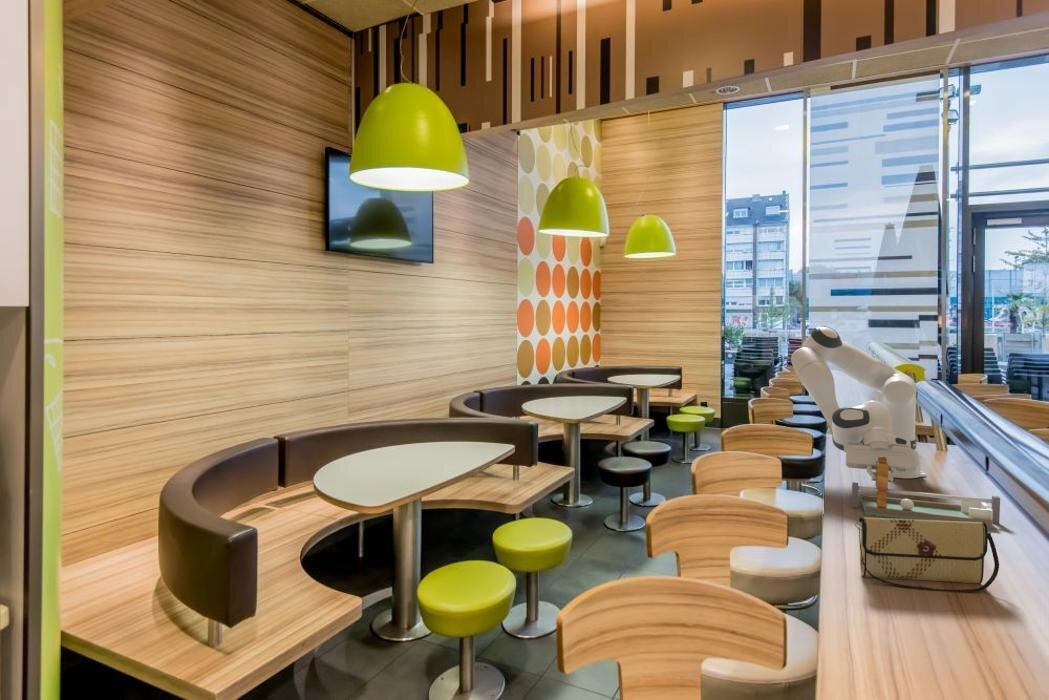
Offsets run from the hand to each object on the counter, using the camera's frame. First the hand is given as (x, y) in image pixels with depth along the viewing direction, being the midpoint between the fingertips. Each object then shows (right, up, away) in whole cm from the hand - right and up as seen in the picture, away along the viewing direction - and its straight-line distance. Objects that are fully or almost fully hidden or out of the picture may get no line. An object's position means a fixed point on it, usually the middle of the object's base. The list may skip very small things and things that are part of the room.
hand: (882, 480), depth 184 cm
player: (0, -8, +1) cm, 8 cm away
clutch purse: (-20, -14, -48) cm, 54 cm away
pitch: (+10, -10, -3) cm, 15 cm away
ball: (+7, -7, -2) cm, 10 cm away
